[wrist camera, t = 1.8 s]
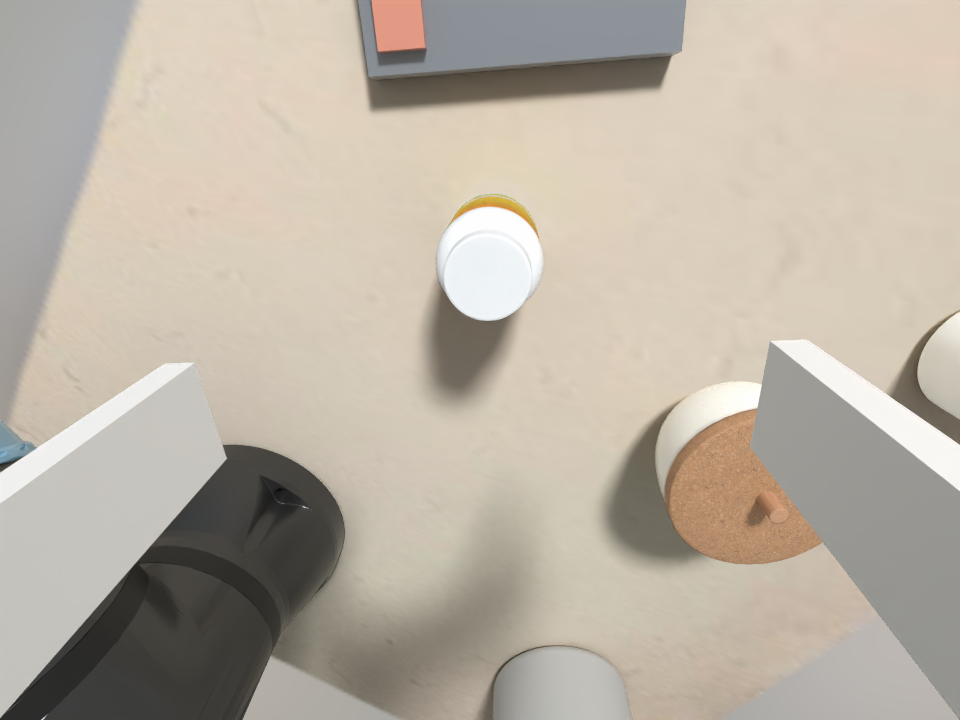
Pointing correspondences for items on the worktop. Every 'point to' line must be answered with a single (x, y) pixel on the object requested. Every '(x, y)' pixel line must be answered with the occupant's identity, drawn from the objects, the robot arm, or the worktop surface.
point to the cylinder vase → (560, 687)
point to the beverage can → (942, 367)
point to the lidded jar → (725, 481)
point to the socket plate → (513, 34)
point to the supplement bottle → (490, 257)
